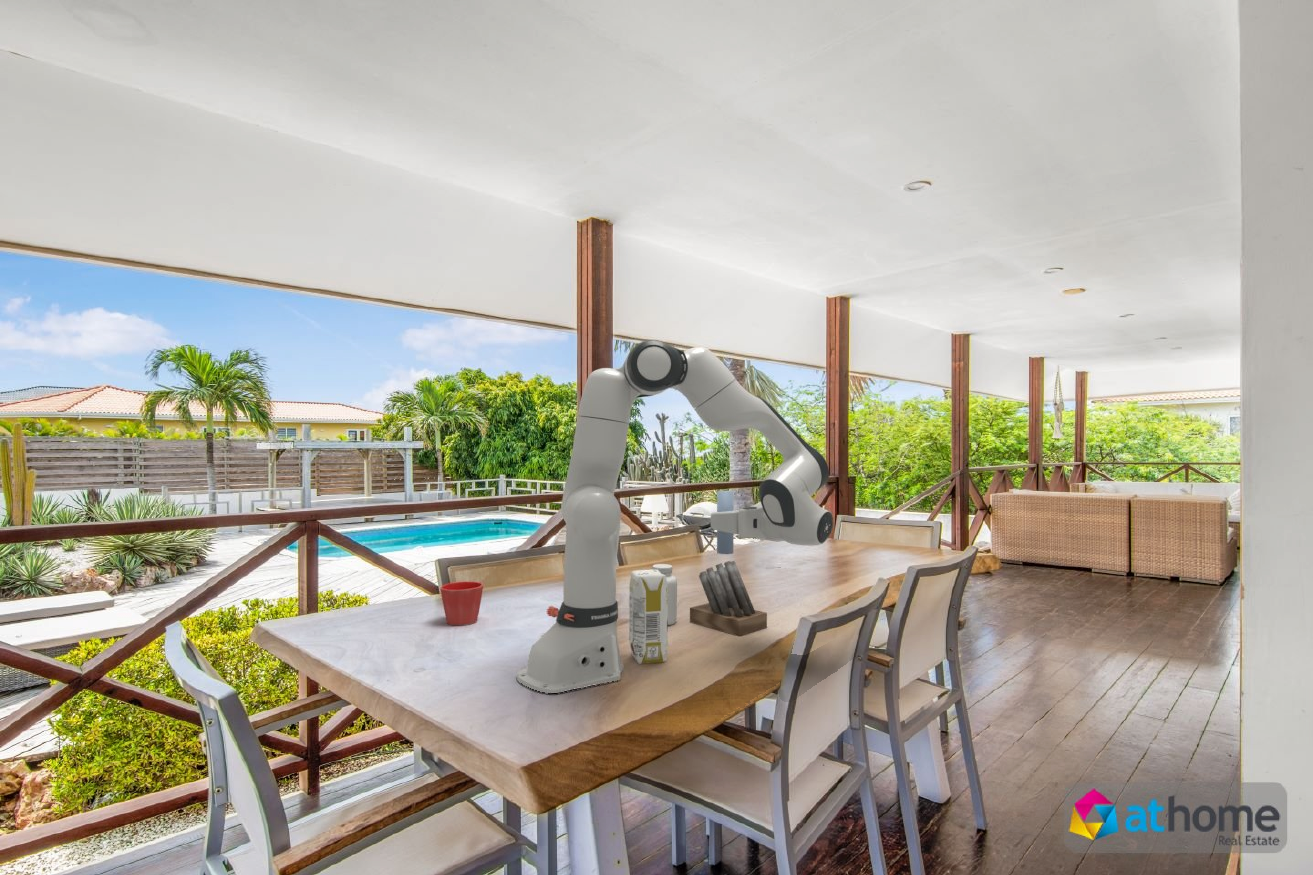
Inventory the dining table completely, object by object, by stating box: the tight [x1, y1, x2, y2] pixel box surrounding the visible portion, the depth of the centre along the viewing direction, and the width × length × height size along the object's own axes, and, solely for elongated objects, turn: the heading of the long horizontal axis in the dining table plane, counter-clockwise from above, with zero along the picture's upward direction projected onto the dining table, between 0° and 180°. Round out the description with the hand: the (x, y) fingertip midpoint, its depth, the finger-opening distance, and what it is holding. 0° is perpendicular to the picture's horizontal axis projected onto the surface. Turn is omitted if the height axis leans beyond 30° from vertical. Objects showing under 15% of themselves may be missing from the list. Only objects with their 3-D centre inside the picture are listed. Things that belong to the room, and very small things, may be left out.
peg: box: [716, 490, 735, 555], centre depth 164 cm, size 4×4×15 cm
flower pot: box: [440, 581, 484, 626], centre depth 177 cm, size 11×11×10 cm
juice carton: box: [628, 569, 669, 665], centre depth 149 cm, size 8×9×19 cm
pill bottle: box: [651, 563, 678, 626], centre depth 177 cm, size 8×8×15 cm
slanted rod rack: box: [689, 560, 768, 637], centre depth 175 cm, size 17×11×18 cm, turn 43°
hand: (722, 515), depth 164 cm, fingers closed on peg, 4 cm apart
